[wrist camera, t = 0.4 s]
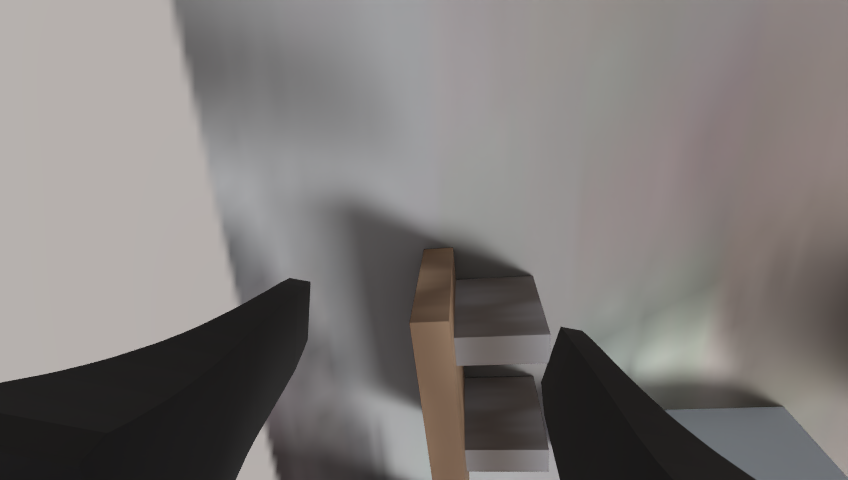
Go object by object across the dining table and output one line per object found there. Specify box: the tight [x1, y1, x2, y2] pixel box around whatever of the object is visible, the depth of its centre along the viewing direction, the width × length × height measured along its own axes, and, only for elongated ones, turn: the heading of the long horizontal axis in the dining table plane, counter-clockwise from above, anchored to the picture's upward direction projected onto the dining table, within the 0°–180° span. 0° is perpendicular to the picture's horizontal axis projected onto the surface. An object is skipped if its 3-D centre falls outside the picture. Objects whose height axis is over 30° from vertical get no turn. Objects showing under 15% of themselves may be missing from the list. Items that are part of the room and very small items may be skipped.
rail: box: [665, 407, 848, 480], centre depth 23 cm, size 3×12×5 cm, turn 97°
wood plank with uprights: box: [410, 248, 551, 480], centre depth 21 cm, size 6×12×6 cm, turn 6°
